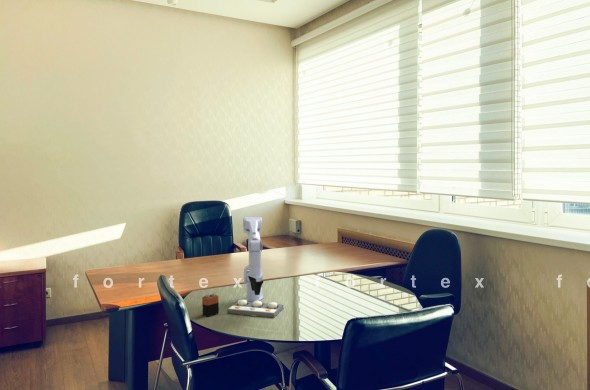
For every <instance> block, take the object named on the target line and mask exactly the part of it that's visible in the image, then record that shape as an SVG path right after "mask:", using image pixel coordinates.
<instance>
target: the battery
mask: <svg viewBox="0 0 590 390" xmlns="http://www.w3.org/2000/svg"><path fill="white" fill-rule="evenodd" d="M201 300H202V301H201V302H202V303H201V305H202V306H201V307H202V316H204V317H208V318H209V317H213V316H216V315H218V314H220V311H219V310H220V309H219V307H220V306H219V301H220V300H219V295H217V294H216V293H214V292H213V293H211V294H209V293H208V294H205V295H204V296H202V299H201Z"/></svg>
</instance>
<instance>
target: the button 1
mask: <svg viewBox="0 0 590 390" xmlns="http://www.w3.org/2000/svg"><path fill="white" fill-rule="evenodd" d="M237 302H238V306H246V305H247V302H248V301H247V300H245V299H238V300H237Z"/></svg>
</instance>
